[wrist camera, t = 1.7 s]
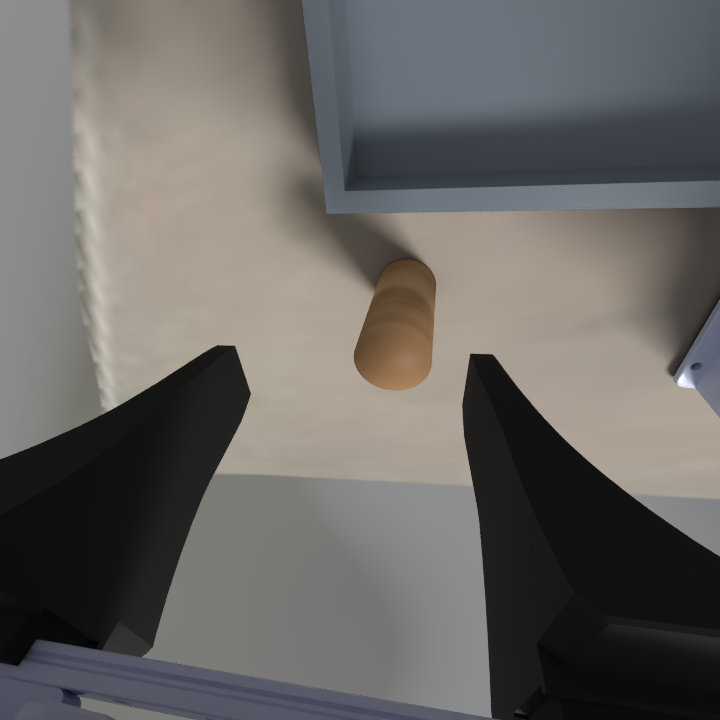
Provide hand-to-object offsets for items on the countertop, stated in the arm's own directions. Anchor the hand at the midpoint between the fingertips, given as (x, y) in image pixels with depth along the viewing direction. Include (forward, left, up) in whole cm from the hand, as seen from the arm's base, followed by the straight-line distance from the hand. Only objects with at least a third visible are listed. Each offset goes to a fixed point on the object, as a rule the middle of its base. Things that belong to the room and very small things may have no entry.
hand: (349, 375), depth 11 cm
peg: (-2, -1, -10) cm, 11 cm away
